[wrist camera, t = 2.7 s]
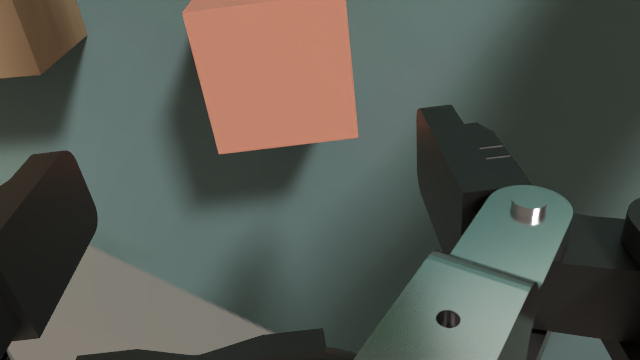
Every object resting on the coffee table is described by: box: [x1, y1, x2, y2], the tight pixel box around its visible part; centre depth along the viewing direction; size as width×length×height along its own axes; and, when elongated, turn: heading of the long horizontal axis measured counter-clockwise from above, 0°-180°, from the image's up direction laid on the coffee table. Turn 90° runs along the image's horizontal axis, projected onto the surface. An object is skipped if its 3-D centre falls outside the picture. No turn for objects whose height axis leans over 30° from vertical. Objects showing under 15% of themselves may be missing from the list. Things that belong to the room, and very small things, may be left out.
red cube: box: [182, 0, 358, 154], centre depth 20 cm, size 5×5×6 cm
